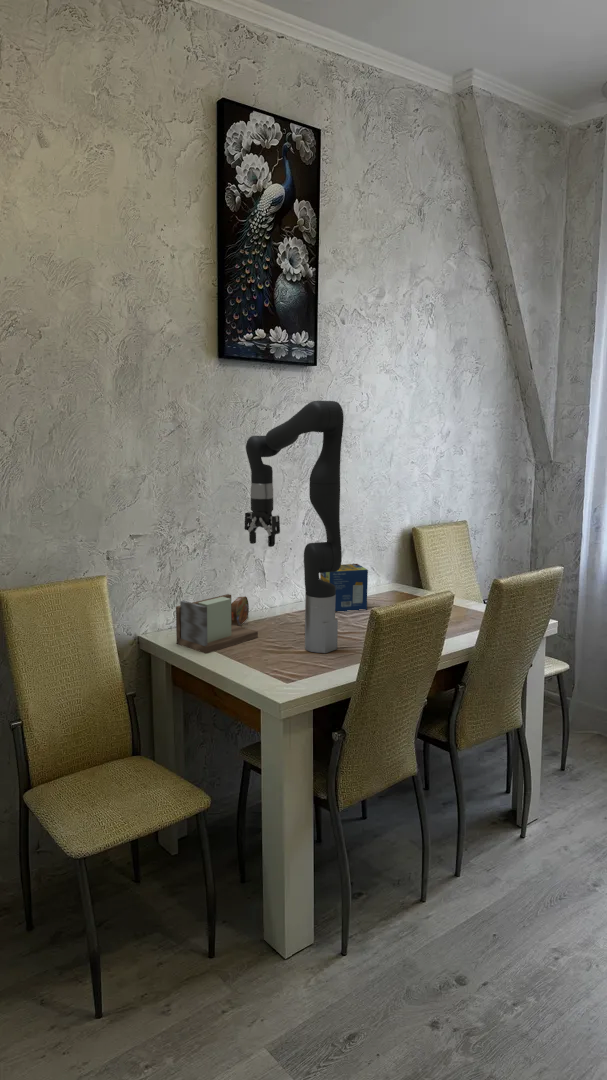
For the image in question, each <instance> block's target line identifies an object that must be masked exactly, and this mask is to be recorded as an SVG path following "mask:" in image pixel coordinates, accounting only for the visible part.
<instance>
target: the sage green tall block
mask: <svg viewBox="0 0 607 1080" xmlns="http://www.w3.org/2000/svg"><path fill="white" fill-rule="evenodd" d="M231 604H232V598H231V599H230V598H226V597H219V598H215V599H211V600H207V601H203V602H199V603H198V605H202V606H205V607H207V643H209V642H212V641H215V640H219V639H222V638H225V637H229V636H231Z"/></svg>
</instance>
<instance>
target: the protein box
mask: <svg viewBox="0 0 607 1080" xmlns="http://www.w3.org/2000/svg"><path fill="white" fill-rule="evenodd" d="M368 573H369V569H367V568H365V567H363V566H362V565H360V564H359V563H348V564H347V563H346V564H341V566H340V568H339V570H338V571H335V572H324V573H319V578H320V580H322V581H325V582H329V583H332V584H333V585H335V588H336V597H335V611H344V612H348V611H347V610H358V611H360V610H359V609H366V610H365V611H367V609H368V580H369V578H368V577H369V574H368Z"/></svg>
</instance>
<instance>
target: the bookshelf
mask: <svg viewBox="0 0 607 1080" xmlns="http://www.w3.org/2000/svg"><path fill="white" fill-rule="evenodd" d="M219 597H226V598H230V599H231V600H232V594H229V593H227V594H222V595H219V596H214V597H211V598H206V599H202V600H201V599H200V600H198V601H193V602H190V601H186V600H180V601H179V603H180V605H178V606H175V621H176V622H175V625H176V626H175V627H176V629H175V630H176V644H177V645H178V646H179V645H180V646H183V647H185V648H189V649H191V650H194V651H195V650H196V651H197V652H201V653H204V654H209V653H212V652H216V651H219V650H221V649H225V648H228V647H231V646H232V647H233V646H234V645H235V646H236V645H237V644H241V643H244V642H248V641H251V640H254V639H257V638H259V631H257V630H255V629H252V628H251V629H250V628H246V627H243V626H237V625H233V624H232V618H231V636H229V637H225V638H222V639H219V640H215V641H212V642H209V643H207V607H205V606H202V605H198V603H199V602H203V601H207V600H211V599H215V598H219ZM215 650H216V651H215Z"/></svg>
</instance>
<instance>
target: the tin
mask: <svg viewBox="0 0 607 1080" xmlns="http://www.w3.org/2000/svg"><path fill="white" fill-rule="evenodd" d="M249 610H250V606H249V599H248V597H247V596H238V597H236V599H235V600H233V602H232V601H231V618H232V624H233V625H237V626H240V627H242V625H243V624H244V623H245V622H246V621H247V620H248V618H249ZM246 619H247V620H246ZM245 620H246V621H245ZM244 621H245V622H244ZM243 622H244V623H243ZM242 623H243V624H242ZM241 624H242V625H241Z"/></svg>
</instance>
